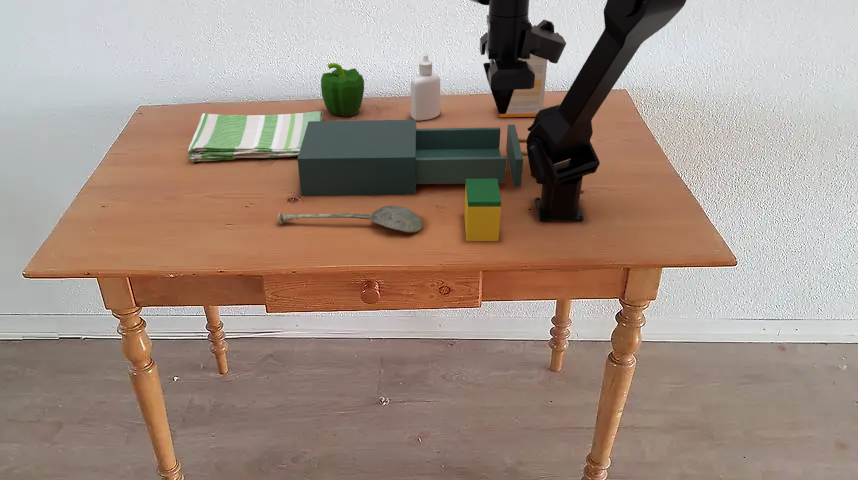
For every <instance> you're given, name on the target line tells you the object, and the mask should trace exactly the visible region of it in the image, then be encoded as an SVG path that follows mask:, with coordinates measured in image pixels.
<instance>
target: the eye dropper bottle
mask: <svg viewBox="0 0 858 480" xmlns="http://www.w3.org/2000/svg"><path fill="white" fill-rule="evenodd" d="M440 114H441V78H440V76H439V75H438V74H436V73H433V62H432V61H431V60H429V55H428V54H423V58H422V60H421V61H420V62H419V63H418V74H417V75H415V76H414V77H413V78H412V79H411V81H410V117H411V119H412V120H416V122H420V121H428V120H431V119H435V118H436V117H438V116H440Z"/></svg>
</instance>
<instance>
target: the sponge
mask: <svg viewBox="0 0 858 480" xmlns="http://www.w3.org/2000/svg"><path fill="white" fill-rule="evenodd" d="M464 188H465V191H464V192H465V193H464V213H463V214H464V215H463V219H464V227H465V228H464V229H465V239H466V242H499V241H500V227H501V213H502V198H501V197H502V196H501V192H500V186H499V183H498V179H466V183H465V187H464Z"/></svg>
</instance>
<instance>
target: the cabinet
mask: <svg viewBox="0 0 858 480" xmlns="http://www.w3.org/2000/svg"><path fill="white" fill-rule="evenodd" d="M416 129H417V120H415V119H372V120H371V119H369V120H366V119H365V120H363V119H361V120H322V121H308V125H307V128H306V131H305V135H304V138H303V142H302V145H301V148H300V152H299V155H298V156H297V168H298V177H299V187H300V196H385V195H387V196H388V195H389V196H391V195H392V196H393V195H394V196H397V195H399V196H400V195H401V196H402V195H404V196H405V195H407V196H408V195H416V194H417V184H416Z"/></svg>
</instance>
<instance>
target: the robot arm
mask: <svg viewBox="0 0 858 480" xmlns="http://www.w3.org/2000/svg"><path fill="white" fill-rule="evenodd" d="M469 1H471V2H473V3H475V4H480V5H482V6H488V14H487V15H486V24H487V32H485V33H484V34H483V35H482V36H481V37H480V38H479V53H480V55H481V56H485V55H487V59H488V62H484V63H483V64H482V65H483V68H484V72H485V77H486V81H487V83H488V85H489V89H490V92H491V94H492V97H493V100H494V102H495V106H496V109H497V112H498V115H499V114H506V112H507V109H508V106H509V103H510V100H511V98H512V95H513V92H514V90H516V89H532V88H534V83H535V73H534V71H533V69H532V67H531V66H530V65H529V64H528V63H527V62H526V61H523V60H519V58H521V59H530V54H532V55H534V56H537V57H540V58H543V59H546V60H547V61H548V62H549V63H552V64H555V65H556V64H558V63H559V60H560V58H561V57H562V54H563V52H564V49H565V48H566V46H567V42H566V40H565V38H564V36H562V35H561V34H560V33H559V32H555V24H554V23H553V22H552V21H550V20H547V19H543V20H541V21H540V22H539V23H538V24H534V25H532V22H531V21H530V20H529V19H530V18H529V12H530V11H529V10H530V0H469ZM686 3H687V0H606V2H605V5H604V8H603V21H604V28H603V31H602V33H601V35H600V36H599V38H598V40H597V41H596V42H595V45H594V46H593V48H592V50H591V52H590V53H589V55H588V56H587V58H586V60H585V62H584V63H583V65H582V67H581V68H580V70H579V72H578V73H577V75H576V77H575V78H574V80H573V82H572V83H571V85H570V87H569V88H568V90H567V92H566V93H565V96H564V97H563V99H562V100H561V102H560V104H556V105H553V106H549V107H546V108H543V109H542V110H540V111H539V112H538V113H537V115H536V117H534V120H533V123H532V124H531V125H530V126H529V127H527V131H528V132H529V133H528V135H527V136H526V138H527V142H526V143H525V144H526V151H527V154H528V156H527V160H528V166H529V172H530V176H531V178H533V179H535V183H536V184H538V185H541V190H540V197H535V198H534V205H535V209H536V212H537V217H538V221H540V222H583V221H584V220H585V215H584V214H583V211H582V210H583V209H582V208H581V204H580V202H581V201H580V200H581V192H582V185H583V178H584V177H585V176H587V175H590V174H595V173H596V172H597V170H598V168H599V166H600V164H601V161H600V159H599V157H598V155H597V153H596V150H595V148H594V146H593V144H592V142H591V139H592V136H593V135H594V134H593V133H594V129H593V122H592V120H593V118H594V117H595V115H596V114H597V112H598V111H599V109H600V107H602V105H603V103H604V101H606V99H607V97H608V96H609V94H610V93H611V92H612V90H613V88H614V86H615V85H616V83H617V82H618V81H619V79H620V78H621V76H622V74H623V73H624V71H625V70H626V68H627V66H628V65H629V63H630V62H631V60H632V59H633V57H635V54H636V53H637V52H638V50H639V48H640V47H641V46H642V44H643V43H644V42H645V41H646V40H648V39H650V38H651V37H653V36H654V35H655V34H656V33H657V32H659V31H660V30H662V29H663V28H664V27H665V26H667V25H668V24H669V23H670V22H671V20H672V19H673V18H675V16H676V15H678V14H679V12H680V11H681V10H682V9H683V8H684V6H685V5H686Z"/></svg>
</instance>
